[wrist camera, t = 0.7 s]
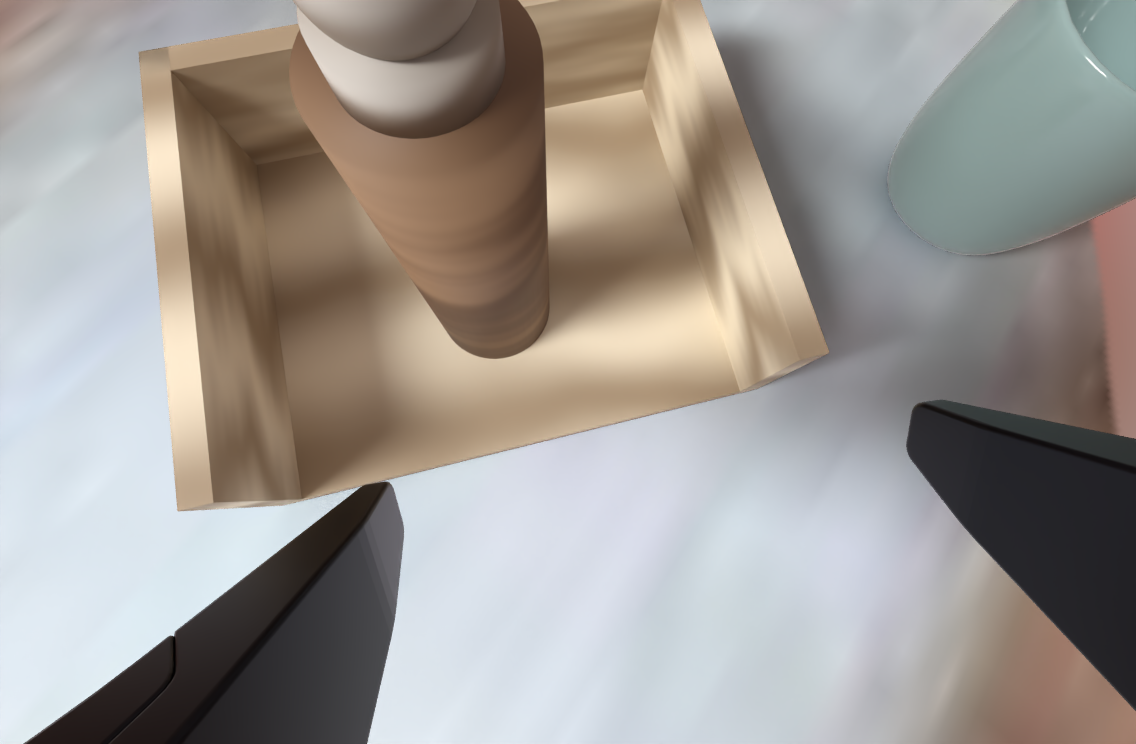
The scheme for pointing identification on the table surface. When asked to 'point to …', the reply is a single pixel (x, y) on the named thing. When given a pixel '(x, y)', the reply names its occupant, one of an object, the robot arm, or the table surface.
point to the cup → (1024, 131)
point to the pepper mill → (440, 149)
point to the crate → (394, 304)
